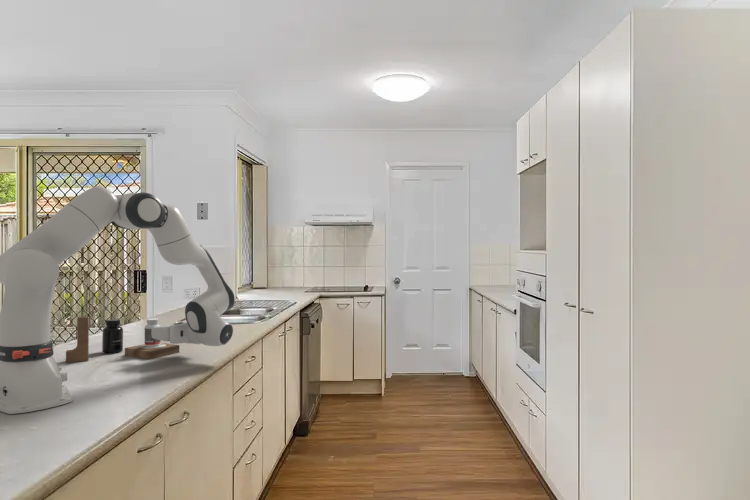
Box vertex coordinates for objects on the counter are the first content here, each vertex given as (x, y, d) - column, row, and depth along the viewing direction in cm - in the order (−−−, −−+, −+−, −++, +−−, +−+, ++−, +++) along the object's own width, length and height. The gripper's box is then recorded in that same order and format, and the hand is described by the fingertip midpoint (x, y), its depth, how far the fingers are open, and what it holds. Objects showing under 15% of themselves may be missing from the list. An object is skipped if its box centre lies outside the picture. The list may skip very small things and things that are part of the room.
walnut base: (179, 352, 188) (179, 344, 188) (150, 359, 177) (150, 350, 177) (154, 348, 194) (154, 340, 194) (124, 355, 182) (124, 347, 182)
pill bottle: (157, 346, 183) (158, 320, 183) (142, 347, 182) (142, 320, 182) (162, 344, 188) (162, 317, 188) (147, 344, 188) (147, 318, 187)
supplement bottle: (116, 354, 184) (117, 321, 184) (98, 353, 184) (98, 321, 184) (126, 350, 191) (126, 318, 191) (108, 350, 191) (108, 318, 191)
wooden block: (88, 359, 176) (88, 316, 176) (88, 361, 173) (88, 317, 173) (66, 360, 173) (66, 317, 173) (65, 362, 170) (65, 318, 170)
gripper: (213, 317, 186) (185, 315, 192) (169, 325, 168) (140, 322, 174) (213, 334, 186) (185, 331, 192) (169, 344, 168) (140, 341, 174)
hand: (163, 327), depth 183 cm, fingers open, 8 cm apart
